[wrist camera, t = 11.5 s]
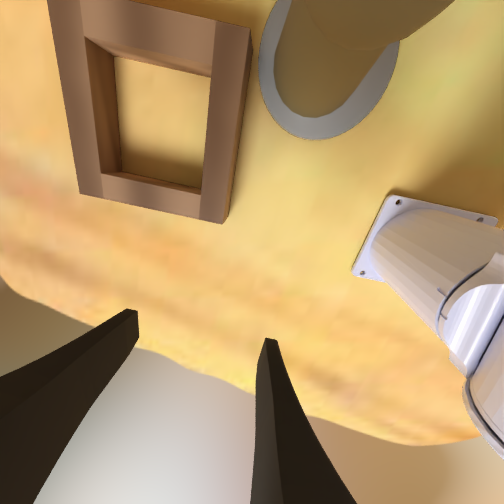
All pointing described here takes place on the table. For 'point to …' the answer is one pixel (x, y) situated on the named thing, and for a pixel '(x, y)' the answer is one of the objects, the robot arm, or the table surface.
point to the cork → (339, 47)
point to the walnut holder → (161, 54)
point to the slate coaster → (341, 117)
